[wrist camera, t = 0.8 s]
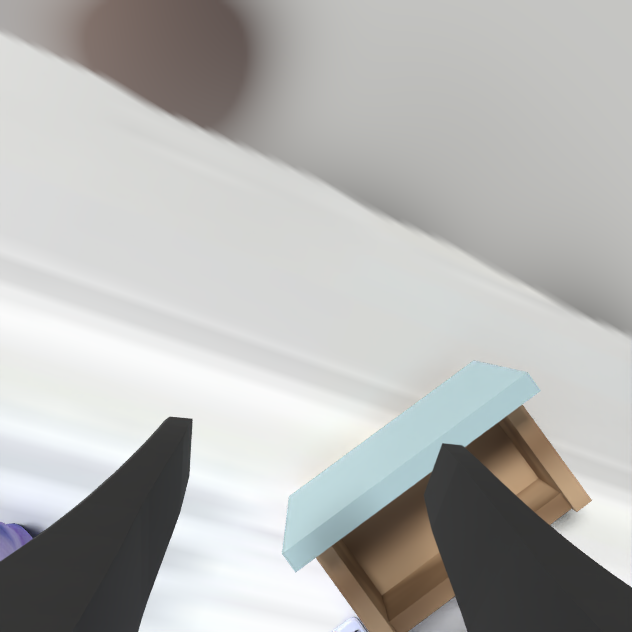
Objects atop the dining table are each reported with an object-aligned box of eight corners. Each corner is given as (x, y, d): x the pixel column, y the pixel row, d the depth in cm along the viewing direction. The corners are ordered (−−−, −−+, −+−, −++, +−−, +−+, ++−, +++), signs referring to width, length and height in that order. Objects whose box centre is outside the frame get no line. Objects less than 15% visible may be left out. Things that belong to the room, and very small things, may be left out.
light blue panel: (483, 374, 28) (540, 390, 21) (299, 510, 28) (295, 572, 21) (473, 360, 28) (527, 372, 21) (288, 496, 28) (282, 553, 21)
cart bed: (538, 466, 31) (591, 500, 25) (371, 591, 31) (386, 655, 25) (469, 372, 31) (507, 383, 25) (302, 495, 31) (300, 536, 25)
